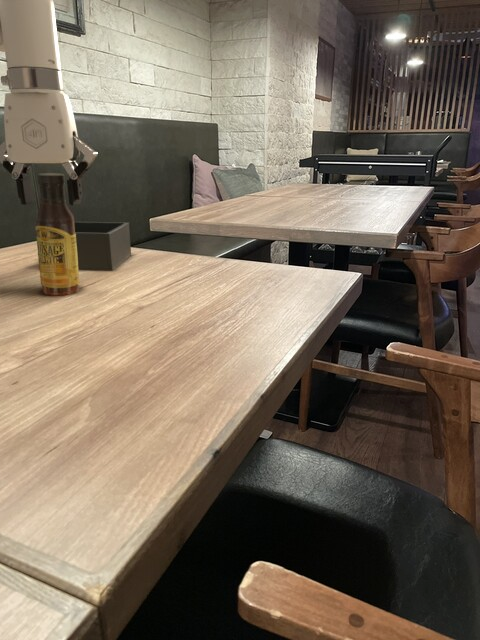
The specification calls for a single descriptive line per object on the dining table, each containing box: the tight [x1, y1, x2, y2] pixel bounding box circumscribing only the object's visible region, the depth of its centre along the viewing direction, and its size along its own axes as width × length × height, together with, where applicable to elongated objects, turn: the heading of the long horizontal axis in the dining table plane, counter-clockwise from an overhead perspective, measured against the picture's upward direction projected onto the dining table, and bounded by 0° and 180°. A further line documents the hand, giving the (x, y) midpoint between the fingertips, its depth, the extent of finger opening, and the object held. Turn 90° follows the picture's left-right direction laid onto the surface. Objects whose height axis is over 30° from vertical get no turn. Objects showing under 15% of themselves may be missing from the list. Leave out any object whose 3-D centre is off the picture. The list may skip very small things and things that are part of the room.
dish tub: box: [74, 221, 132, 272], centre depth 104 cm, size 15×14×8 cm
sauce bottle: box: [35, 172, 80, 297], centre depth 82 cm, size 6×6×20 cm
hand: (51, 203), depth 80 cm, fingers open, 7 cm apart
